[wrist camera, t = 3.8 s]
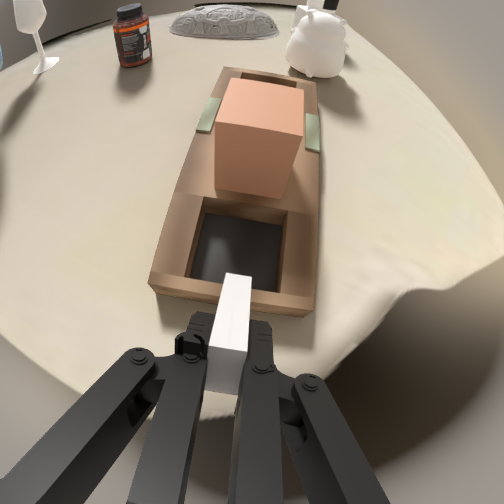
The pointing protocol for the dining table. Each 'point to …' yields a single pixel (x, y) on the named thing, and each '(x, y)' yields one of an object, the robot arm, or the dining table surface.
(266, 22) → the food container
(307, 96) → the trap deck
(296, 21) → the medicine bottle
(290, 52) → the figurine
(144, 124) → the dining table surface
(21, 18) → the champagne flute
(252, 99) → the block
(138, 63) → the supplement bottle
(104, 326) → the dining table surface
